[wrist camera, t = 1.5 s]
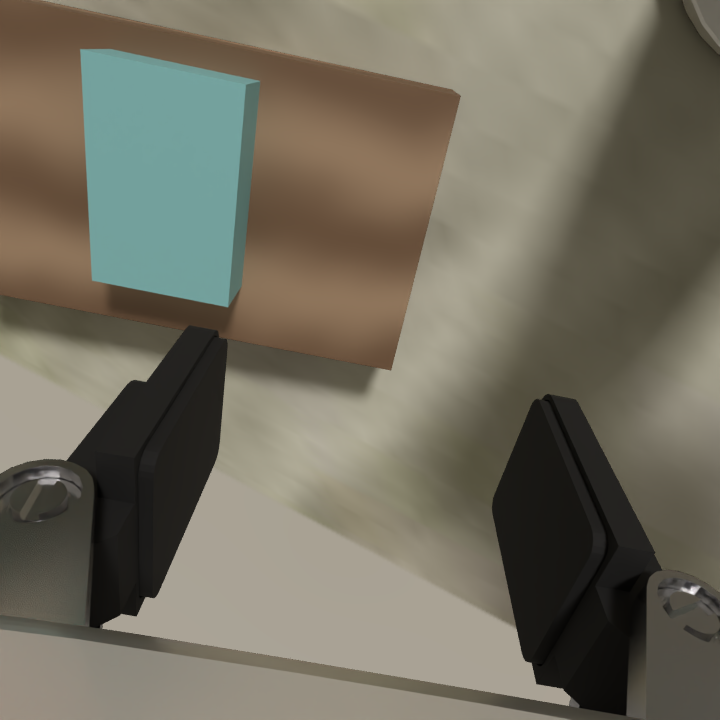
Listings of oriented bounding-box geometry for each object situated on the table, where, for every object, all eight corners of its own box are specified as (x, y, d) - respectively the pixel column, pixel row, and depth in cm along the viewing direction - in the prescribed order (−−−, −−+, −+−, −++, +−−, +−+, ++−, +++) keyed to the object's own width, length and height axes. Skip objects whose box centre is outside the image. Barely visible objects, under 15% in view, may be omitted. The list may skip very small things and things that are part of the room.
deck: (-30, -15, 25) (-99, -26, 21) (451, 89, 26) (460, 95, 22) (6, 259, 31) (-44, 286, 28) (391, 335, 32) (390, 370, 29)
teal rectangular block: (111, 48, 22) (80, 49, 20) (260, 81, 22) (246, 84, 20) (116, 261, 27) (91, 280, 24) (241, 286, 27) (228, 307, 25)
